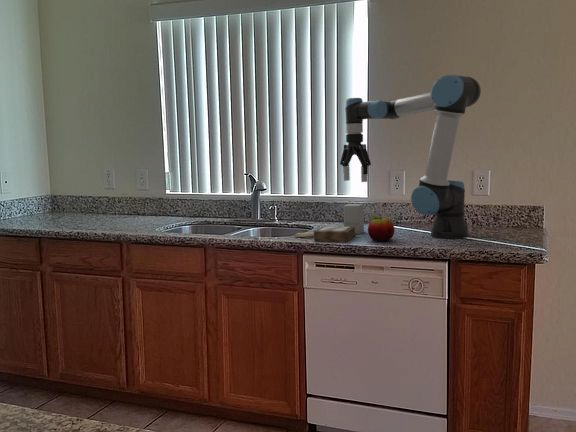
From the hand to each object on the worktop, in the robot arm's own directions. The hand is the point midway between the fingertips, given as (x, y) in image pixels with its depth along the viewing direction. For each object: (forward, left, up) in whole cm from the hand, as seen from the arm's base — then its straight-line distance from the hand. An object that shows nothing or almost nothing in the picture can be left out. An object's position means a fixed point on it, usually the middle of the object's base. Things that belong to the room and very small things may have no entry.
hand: (355, 181), depth 248 cm
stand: (-13, +17, -22) cm, 31 cm away
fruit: (-27, +3, -23) cm, 35 cm away
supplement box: (-4, +3, -23) cm, 23 cm away
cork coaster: (-1, +25, -22) cm, 34 cm away
